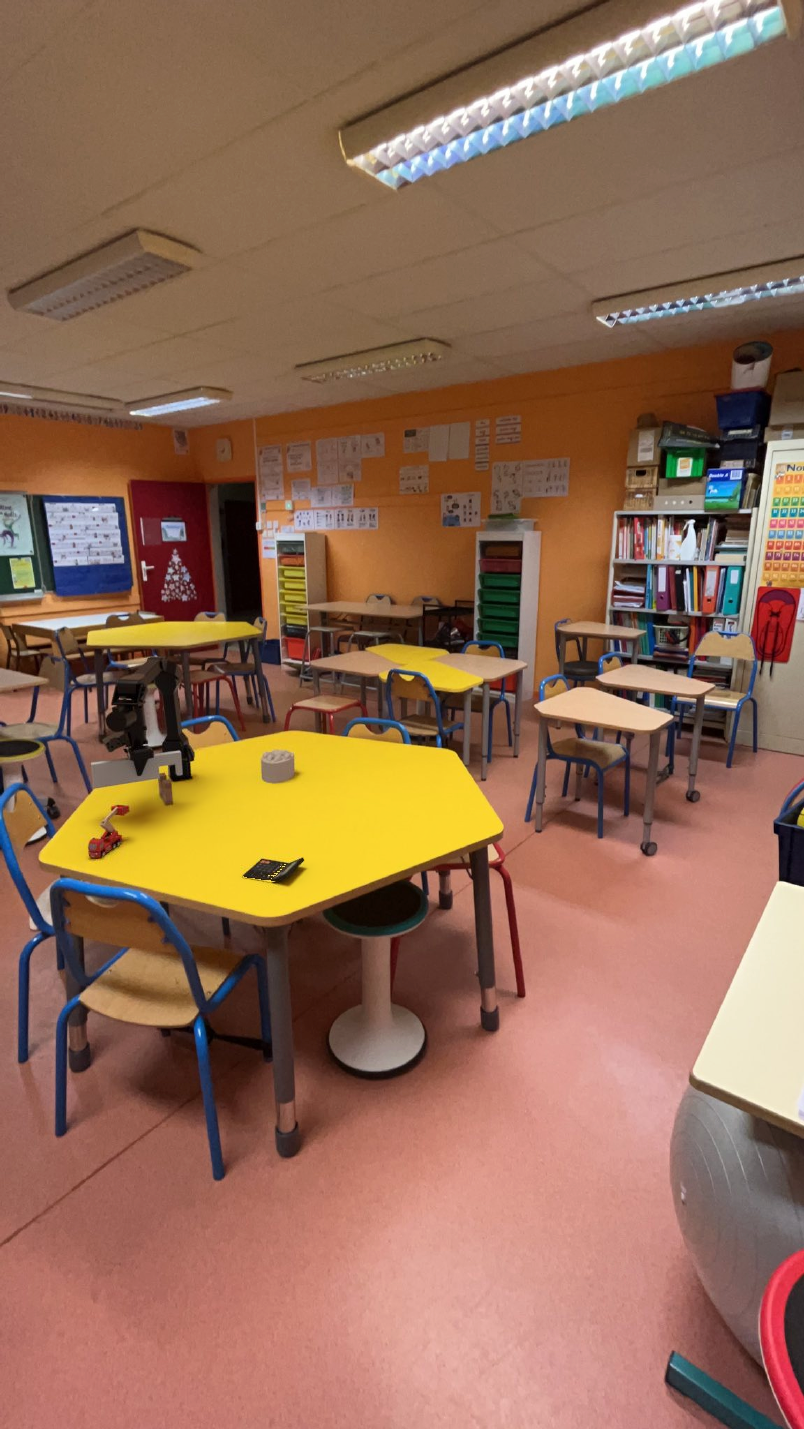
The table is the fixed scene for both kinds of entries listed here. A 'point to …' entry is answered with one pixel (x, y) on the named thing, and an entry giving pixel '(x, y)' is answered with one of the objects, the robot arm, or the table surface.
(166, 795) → the walnut stand
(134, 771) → the grey board
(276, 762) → the lumpy-topped squat cylinder
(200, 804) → the table surface
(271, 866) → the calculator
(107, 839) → the toy fire truck
